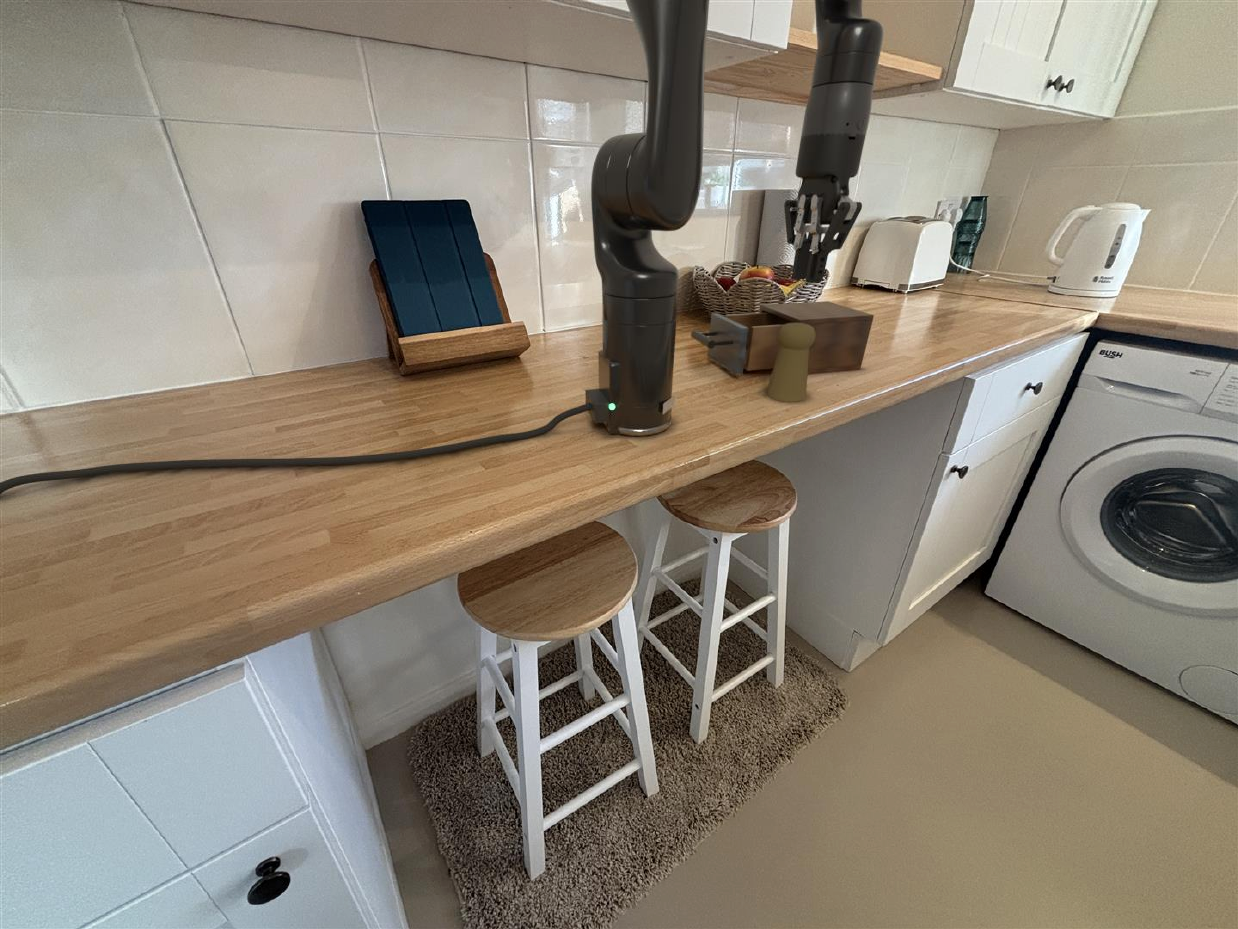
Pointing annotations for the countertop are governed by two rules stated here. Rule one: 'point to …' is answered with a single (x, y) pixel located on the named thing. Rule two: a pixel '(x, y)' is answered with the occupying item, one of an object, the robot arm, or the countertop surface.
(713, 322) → the drawer
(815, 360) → the cabinet
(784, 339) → the olive chess pawn
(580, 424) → the countertop surface
